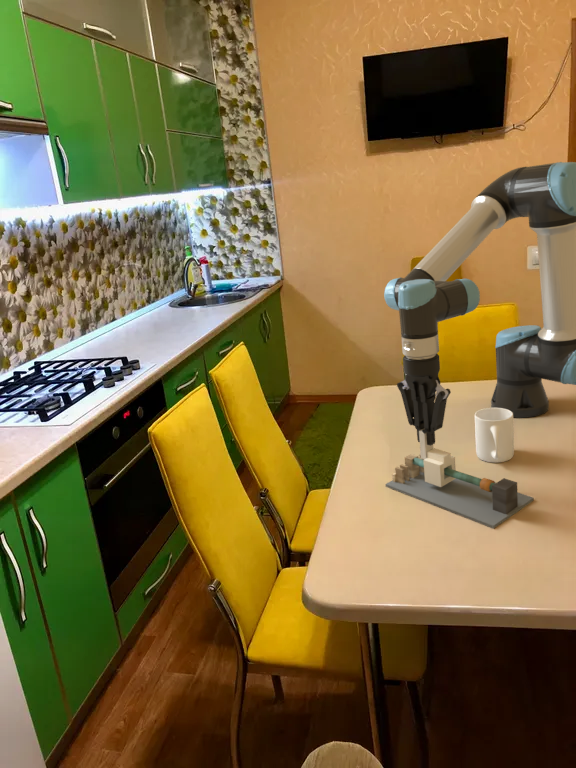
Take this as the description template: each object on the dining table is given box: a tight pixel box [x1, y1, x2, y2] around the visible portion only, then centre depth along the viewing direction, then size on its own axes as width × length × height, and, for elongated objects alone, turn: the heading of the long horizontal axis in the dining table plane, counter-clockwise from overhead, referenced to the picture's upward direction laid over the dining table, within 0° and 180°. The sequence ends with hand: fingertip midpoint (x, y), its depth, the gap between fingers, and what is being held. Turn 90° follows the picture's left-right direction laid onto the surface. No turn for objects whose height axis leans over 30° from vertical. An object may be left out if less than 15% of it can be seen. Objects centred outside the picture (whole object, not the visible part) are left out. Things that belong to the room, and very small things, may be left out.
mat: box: [385, 472, 535, 530], centre depth 133 cm, size 14×28×1 cm, turn 38°
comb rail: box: [391, 453, 518, 514], centre depth 132 cm, size 10×27×6 cm, turn 38°
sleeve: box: [423, 447, 457, 487], centre depth 135 cm, size 5×4×7 cm
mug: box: [474, 407, 515, 464], centre depth 144 cm, size 9×12×11 cm
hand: (427, 456), depth 137 cm, fingers closed
